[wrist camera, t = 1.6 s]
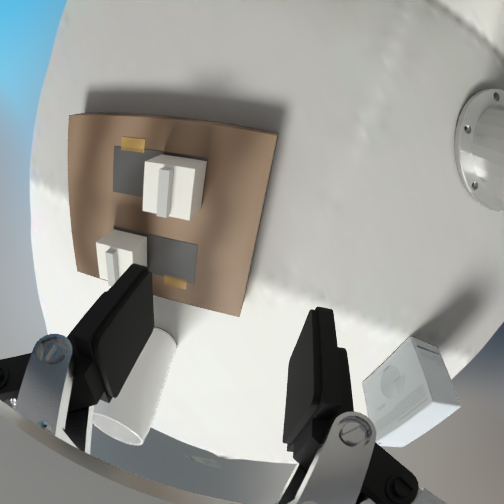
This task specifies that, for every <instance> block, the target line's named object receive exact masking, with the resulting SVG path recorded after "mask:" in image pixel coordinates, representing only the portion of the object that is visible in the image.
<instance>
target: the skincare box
mask: <svg viewBox="0 0 504 504" xmlns="http://www.w3.org/2000/svg"><path fill="white" fill-rule="evenodd" d="M362 386H363V391H364V396H365V401H366V407H367V413H368V418H369V419H370V420H371V421H372V422H373V424H374V426H375V428H376V432H377V433H376V441H375V442H376V443H377V444H378V445H379V446H392V447H404V446H405V445H407V444H408V443H410V442H412V441H413V440H415V439H416V438H418V437H419V436H421V435H422V434H424V433H425V432H427V431H428V430H430V429H431V428H432V427H434V426H436V425H437V424H438V423H440V422H441V421H443V420H444V419H445V418H446V417H448V416H449V415H451V414H452V413H453V412H454V411H456V410H457V409H458V408H459V407H461V405H460V402H459V399H458V397H457V394H456V392H455V389H454V386H453V383H452V381H451V378H450V376H449V373H448V371H447V368H446V366H445V364H444V361H443V359H442V356H441V354H440V352H439V349H438V347H436V346H433V345H431V344H428V343H426V342H424V341H421V340H419V339H417V338H414V337H412V336H409V337H408V339H407V340H406V341H405V342H404V343H403V344H402V345H401V346H400V347H399V348H398V349H397V350H396V351H395V352H394V353H393V354H392V355H391V356H390V357H389V358H388V359H387V360H386V361H385V362H384V363H383V364H382V365H381V366H380V367H379V368H378V369H376V370H375V371H374V372H373V373H372V374H371V375H370V376H369V377H368V378H367V379H366V380H365V381H363V382H362Z"/></svg>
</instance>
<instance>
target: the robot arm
mask: <svg viewBox="0 0 504 504" xmlns="http://www.w3.org/2000/svg"><path fill="white" fill-rule="evenodd" d="M464 127H465V129H464ZM455 156H456V163H457V167H458V171H459V175H460V177H461V180H462V182H463V184H464V186H465V188H466V189H467V191H468V192H469V194H470V195H471V196H472V197H473V198H474V199H475V200H476V201H477V202H479V203H480V204H481V205H483V206H484V207H486V208H489V209H491V210H496V211H503V210H504V90H501V89H484V90H482V91H479V92H477V93H476V94H474V95H473V96H472V97H471V98H470V99H469V100H468V101H467V103H466V104H465V106H464V107H463V109H462V112H461V114H460V116H459V119H458V123H457V127H456V134H455ZM153 329H154V313H153V284H152V272H150V271H149V270H148V267H146V266H142V265H139V264H135V263H133V264H131V265H130V266H129V268H128V269H127V270H126V271H125V272H124V273H123V274H122V275H121V277H120V278H119V279H118V280H117V281H116V282H115V283H114V285H113V286H112V287H111V288H110V289H109V290H108V291H106V292H104V293H103V294H102V295H101V296H100V297H99V299H98V300H97V301H96V302H95V303H94V305H93V306H92V307H91V308H90V309H89V311H88V312H87V313H86V314H85V315H84V317H83V318H82V319H81V320H80V321H79V323H78V324H77V325H76V326H75V328H74V329H73V330H72V331H71V333H70V334H69V335H68V337H67V338H66V337H65V336H63V335H59V334H50V335H46V336H44V337H43V338H41V339H40V340H39V341H38V342H37V343H36V344H35V346H34V348H33V351H32V353H30V354H25V355H21V356H16V357H12V358H7V359H2V360H0V504H244V503H238V502H231V501H226V500H222V499H217V498H212V497H208V496H203V495H199V494H195V493H191V492H187V491H183V490H180V489H177V488H173V487H170V486H167V485H164V484H160V483H157V482H154V481H152V480H149V479H146V478H143V477H140V476H138V475H135V474H132V473H130V472H127V471H125V470H123V469H120V468H118V467H115V466H113V465H111V464H109V463H106V462H104V461H102V460H100V459H98V458H96V457H93V456H91V455H90V445H91V432H92V421H93V412H94V405H97V404H98V402H99V400H102V401H104V402H107V403H110V401H111V399H112V398H113V397H114V398H116V397H117V396H118V395H119V393H120V391H121V389H122V387H123V385H124V384H125V382H126V380H127V378H128V376H129V374H130V372H131V370H132V369H133V367H134V365H135V363H136V361H137V359H138V357H139V356H140V354H141V352H142V350H143V348H144V347H145V345H146V343H147V341H148V339H149V338H150V336H151V334H152V332H153ZM376 433H377V432H376V428H375V426H374V424H373V422H372V421H371V420H370V419H369V418H368V417H367V416H365V415H363V414H361V413H358V412H354V410H353V399H352V390H351V381H350V373H349V365H348V357H347V352H346V349H345V348H339V347H337V338H336V330H335V322H334V314H333V310H332V309H327V308H322V307H316V309H315V310H312V309H311V310H310V311H309V314H308V316H307V319H306V321H305V324H304V326H303V329H302V331H301V334H300V336H299V339H298V341H297V344H296V346H295V348H294V351H293V353H292V356H291V358H290V361H289V367H288V382H287V396H286V408H285V420H284V431H283V443H287V451H290V452H293V458H294V459H295V460H296V461H297V462H298V463H297V465H296V467H295V469H294V471H293V472H292V474H291V476H290V478H289V480H288V482H287V484H286V485H285V487H284V489H283V491H282V493H281V495H280V496H279V498H278V500H277V501H276V503H275V504H447V503H445V502H444V501H442V500H441V499H439V498H438V497H437V496H435V495H434V494H432V493H431V492H429V491H428V490H427V489H425V488H423V489H420V488H419V487H418V481H417V479H416V477H415V476H414V475H413V474H412V473H411V472H410V471H409V470H408V469H406V468H405V467H404V466H403V465H401V464H400V463H399V462H398V461H397V460H396V459H394V458H393V457H392V456H391V455H390V454H388V453H387V452H386V451H385V450H384V449H383V448H382V447H380V446H379V445H378V444H377V443H376V442H375V441H376Z"/></svg>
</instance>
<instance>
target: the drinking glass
mask: <svg viewBox="0 0 504 504" xmlns="http://www.w3.org/2000/svg"><path fill="white" fill-rule="evenodd" d="M176 349H177V346H176V343H175V341H174V339H173V338H172V337H171V336H170V335H169V334H168V333H167V332H165V331H163V330H161V329H159V328H154V329H153V332H152V334H151V336H150V338H149V339H148V341H147V343H146V345H145V347H144V348H143V350H142V352H141V354H140V356H139V357H138V359H137V361H136V363H135V365H134V367H133V369H132V370H131V372H130V374H129V376H128V378H127V380H126V382H125V384H124V385H123V387H122V389H121V391H120V393H119V395H118V396H117V397H116V398H114V397H113V398H112V399H111V401H110V403H107V402H104V401H102V400H99V402H98V404H97V405H94V412H93V421H92V423H93V424H94V425H96V426H97V427H98V428H99V429H100V430H102V431H103V432H104V433H106V434H108V435H109V436H111V437H113V438H115V439H117V440H119V441H122V442H124V443H127V444H131V445H141V444H143V442H144V440H145V438H146V436H147V434H148V431H149V429H150V427H151V425H152V422H153V420H154V417H155V414H156V411H157V408H158V404H159V401H160V398H161V394H162V391H163V388H164V384H165V381H166V378H167V375H168V372H169V369H170V365H171V362H172V360H173V357H174V355H175V353H176Z"/></svg>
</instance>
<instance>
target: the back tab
mask: <svg viewBox="0 0 504 504" xmlns="http://www.w3.org/2000/svg"><path fill="white" fill-rule="evenodd" d="M96 249H97V259H98V268H99V276H100V278H101V279H104V280H107V281H108V283H109V285H110V286H113V285H114V283H115V282H116V281H117V280H118V279H119V278H120V277H121V275H122V274H123V273H124V272H125V271H126V270H127V269H128V268H129V266H130V265H131V264H133V263H135V264H139V265H142V266H146V267H147V237H145V236H140V235H136V234H132V233H128V232H123V231H119V230H115V229H111V230H110V231H109V232H108V233H106V234H105V235H104V236H103V237H102V238H100V239H99V240H98V241H97V242H96Z"/></svg>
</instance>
